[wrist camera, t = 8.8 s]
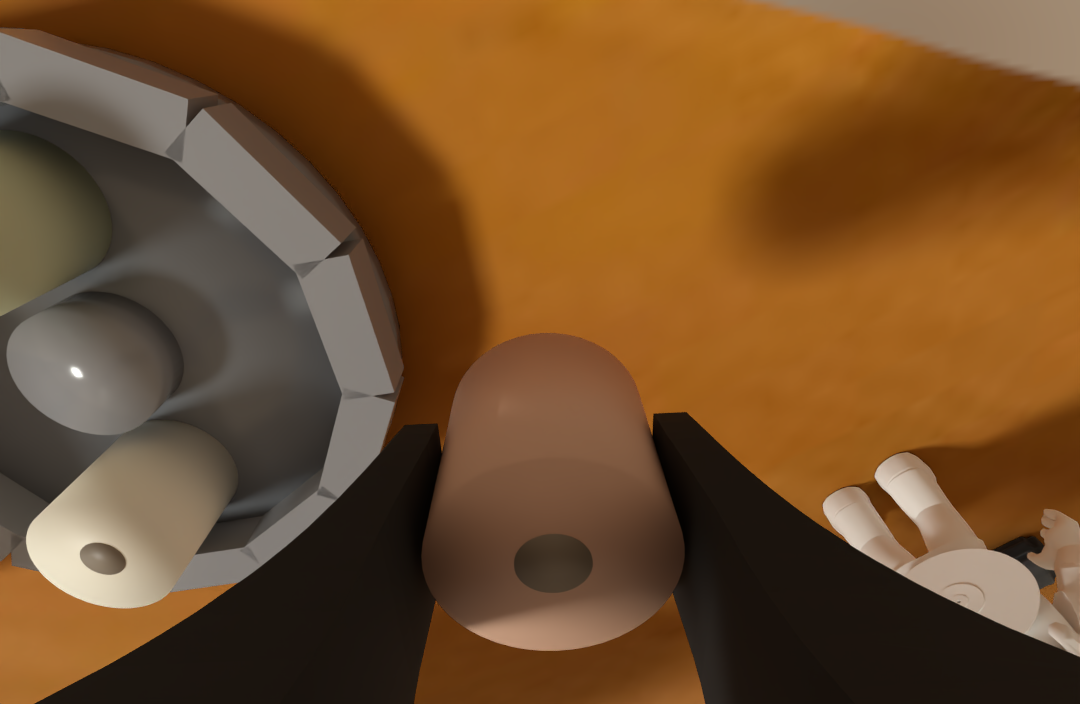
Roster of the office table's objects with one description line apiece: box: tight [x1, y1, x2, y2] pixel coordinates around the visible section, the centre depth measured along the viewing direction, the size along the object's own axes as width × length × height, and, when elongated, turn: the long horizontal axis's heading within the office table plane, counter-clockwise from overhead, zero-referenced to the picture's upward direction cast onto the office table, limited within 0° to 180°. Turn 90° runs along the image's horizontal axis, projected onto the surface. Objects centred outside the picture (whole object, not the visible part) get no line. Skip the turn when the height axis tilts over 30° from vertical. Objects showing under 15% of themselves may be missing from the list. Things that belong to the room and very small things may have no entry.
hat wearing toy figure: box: [823, 452, 1080, 657], centre depth 17 cm, size 9×4×12 cm, turn 130°
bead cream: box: [26, 420, 238, 608], centre depth 19 cm, size 4×4×4 cm
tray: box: [0, 27, 404, 592], centre depth 18 cm, size 17×17×2 cm
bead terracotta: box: [421, 333, 685, 651], centre depth 11 cm, size 4×4×4 cm
